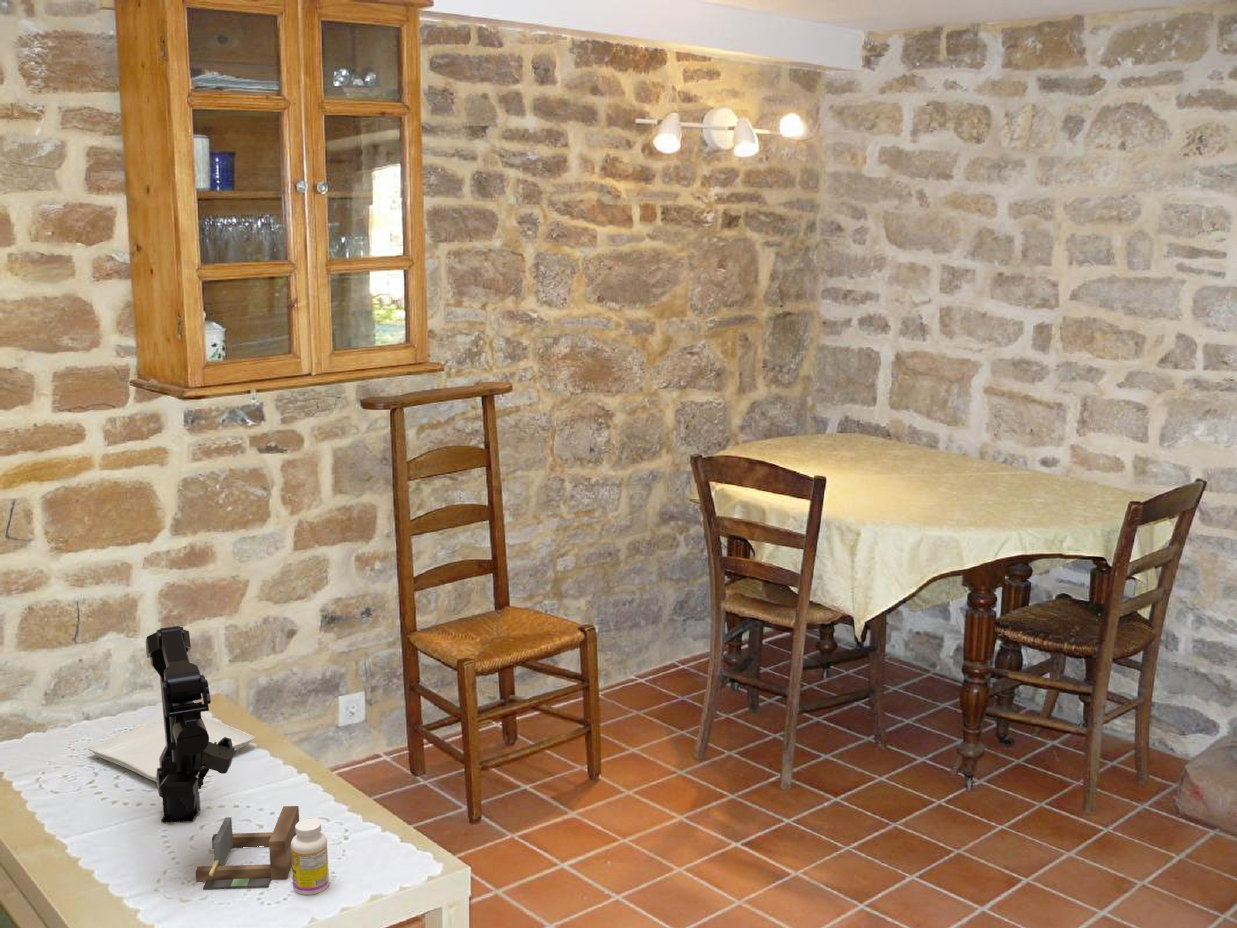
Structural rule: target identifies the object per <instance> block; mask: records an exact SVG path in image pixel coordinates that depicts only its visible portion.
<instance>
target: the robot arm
mask: <svg viewBox="0 0 1237 928" xmlns="http://www.w3.org/2000/svg"><path fill="white" fill-rule="evenodd" d="M191 649H192V644H191V637H190V631H189V630H187V629H184V626H180V625H174V626H168V627H167V626H166V627H160V628H159V629H156V632H153V633H151V634H150V635H148V636H146V638H145V652H146V658H147V659H149V660H150V665H151V666H152V667H153V669H154V670H155V671H156V672H157V674H158V675H159V683H160V694H161V703H162V716H163V719H164V728H165V739H166V746H165V748H164V750H163V752H162V754H161V756H160V758H159V762H160V768H157V774H156V781H157V782H156V788H157V793H158V796H159V798H162V809H163V810H162V811H163V816H162V818H161V819H160V820H161V823H162V824H164V823H165V824H166V823H168V824H169V823H192V822H194V820H195V819H196V816H197V815H198V814H199V812H200V811H201V800H200V792H199V790H201V789H202V786H203V785H204V779H205V777H206V776H207V775H208V773H209V771H210V770H212V771H214V772H217V773H218V774H224V775H225V774H227V773H228V771H229V769H230V767H231V764H232V763H233V759H234V756H235V753H236V751H235V750H234V749H235V748H234V747H233V746H232V741H231V739H230V738H227V737H224V738H223V739H221V740H220V741H219V742H218V744H216V743H217V742H214V744H213V743H212V742H209V735H208V732H207V730H206V727H205V725H204V722H203V720H202V719H201V715H202V713H203V712H209V711H210V710H209V709H210V708H209V704H211V702H212V700H211V694H210V688H209V682H208V679H206V676H205V675H204V674H201V671H200V669H199V666H198V665H197V664H194V663H192V662H191V661H190V659H189V656H188V653H190V652H191ZM200 700H203V701H200ZM194 701H197V702H194ZM232 747H233V748H232Z"/></svg>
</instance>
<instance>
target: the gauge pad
mask: <svg viewBox="0 0 1237 928" xmlns="http://www.w3.org/2000/svg"><path fill="white" fill-rule="evenodd" d="M232 833H233V821H232V816H231V817H230V816H229V817H224V819H223V821H222V823H221V825H220V827H219V830H218V831H217V833H216V834H217V835H216V837H215V839H214V841H213V849H212V851H213V853H212V854H213V865H211V866H212V868H211V871H210V873H209V876H213V874H214V872H215V870H216V867H217V866H225V863H226V861H227V859H228V856H229V854H230V852H231V850H232V849H233V848H232V846H233V836H232Z"/></svg>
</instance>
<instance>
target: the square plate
mask: <svg viewBox="0 0 1237 928" xmlns="http://www.w3.org/2000/svg"><path fill="white" fill-rule="evenodd" d="M201 719H202V720H203V722H204V725H205V727H206V730H207V732H208V735H209V742H212V743H213V744H214V742H217V743H216V744H218V742H219V741H220V740H221V739H223V738H224V737H227V738H230V739H231V741H232V746H233V747H234V748H235V749H234V750H235V752H236V751H238V750H240V749H242V748H244V747H245V746H247V745H249V744H250V742H252V741H253V740H254V739H256V736H255V735H252V734H251V733H247V732H245V731H243V730H240V729H239V728H235V727H233V726H231V725H229V724H226V723H223V722H220V721H219V720H218V721H217V720H215V719H213V718H210V717H207V716H205V715H202V714H201ZM165 746H166V739H165V728H164V718H162V719H159V720H156V721H153V722H150V723H147V724H145V725H142V726H140V727H137V728H134V729H132V730H129V731H126V732H123V733H122V734H118V735H116V736H113V737H112V738H108V739H106V740H104V741H101V742H98V743H97V744H93V745H92V746H89V747H88V748H87V750H88V751H90V752H92V753H93V755H96V756H97V757H99V758H101V759H102V760H103V759H104V760H106V761H108V762H110V763H112V764H116V765H118V766H121V767H123V768H125V769H128V770H130V771H132V772H134V773H136V774H139V775H140V776H142V777H144V778H146V779H148V780H151V781H153V782H155V783H157V781H156V774H157V768H160V762H159V758H160V756H161V754H162V752H163V750H164V748H165ZM233 747H232V748H233Z"/></svg>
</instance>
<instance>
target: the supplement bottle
mask: <svg viewBox="0 0 1237 928" xmlns="http://www.w3.org/2000/svg"><path fill="white" fill-rule="evenodd" d="M295 832H296V834H297V835H296V836H294V838H293V839H292V841H291V858H292V867H291V872H292V873H291V875H292V889H294V891H295V892H296V893H298V894H300V895H305V896H306V895H307V896H308V895H309V896H310V895H316V894H318V893H321V892H323V891H324V890H326V888H327V887H328V886H329V883H330V878H329V877H330V876H329V875H330V874H329V872H330V871H329V857H328V856H329V855H328V838H327V836H326V834H325V833H323V832H322V823H321V821H320V820H318V819H316V818H307V819H302V820H299V822H298V823H297V824H296V825H295Z"/></svg>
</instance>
